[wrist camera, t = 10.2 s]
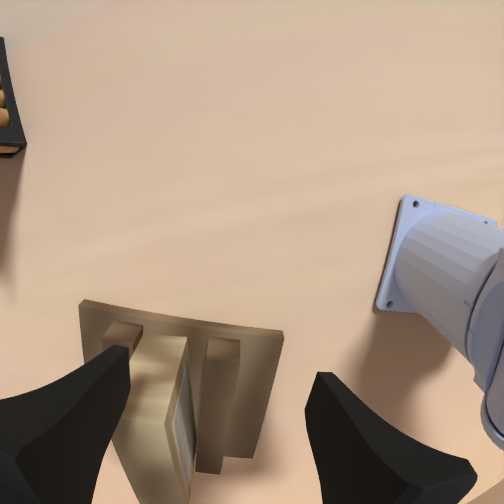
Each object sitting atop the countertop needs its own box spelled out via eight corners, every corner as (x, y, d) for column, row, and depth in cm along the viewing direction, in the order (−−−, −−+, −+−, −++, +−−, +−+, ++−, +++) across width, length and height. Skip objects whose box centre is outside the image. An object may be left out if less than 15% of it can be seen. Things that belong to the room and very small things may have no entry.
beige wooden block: (187, 336, 20) (164, 424, 12) (197, 437, 23) (187, 516, 15) (142, 334, 20) (102, 415, 12) (161, 434, 23) (143, 510, 15)
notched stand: (282, 330, 21) (289, 359, 18) (252, 450, 25) (253, 480, 21) (84, 299, 20) (62, 321, 17) (100, 424, 24) (88, 450, 20)
